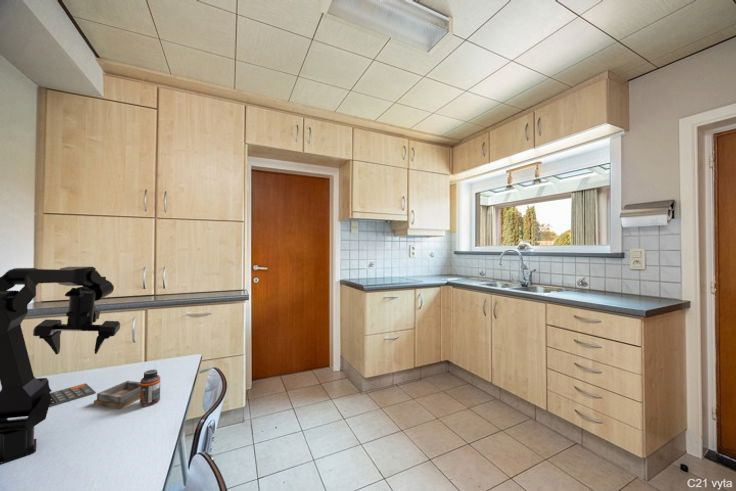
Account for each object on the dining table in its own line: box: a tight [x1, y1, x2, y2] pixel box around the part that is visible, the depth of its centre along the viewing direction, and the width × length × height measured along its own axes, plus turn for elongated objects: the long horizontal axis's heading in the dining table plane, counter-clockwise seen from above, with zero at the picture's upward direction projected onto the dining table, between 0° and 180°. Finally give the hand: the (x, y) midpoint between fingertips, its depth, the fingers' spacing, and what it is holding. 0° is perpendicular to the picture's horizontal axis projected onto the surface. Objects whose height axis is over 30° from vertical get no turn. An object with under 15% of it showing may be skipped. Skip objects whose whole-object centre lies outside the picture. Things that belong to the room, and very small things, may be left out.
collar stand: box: [93, 380, 141, 410], centre depth 95 cm, size 10×10×3 cm
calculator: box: [49, 382, 97, 408], centre depth 96 cm, size 12×1×15 cm
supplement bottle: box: [139, 369, 161, 407], centre depth 93 cm, size 5×5×10 cm
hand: (77, 353), depth 93 cm, fingers open, 9 cm apart
